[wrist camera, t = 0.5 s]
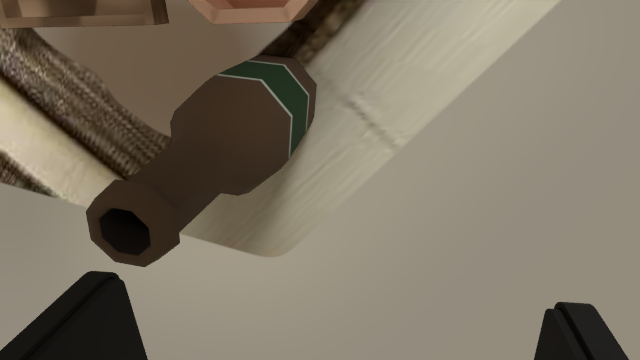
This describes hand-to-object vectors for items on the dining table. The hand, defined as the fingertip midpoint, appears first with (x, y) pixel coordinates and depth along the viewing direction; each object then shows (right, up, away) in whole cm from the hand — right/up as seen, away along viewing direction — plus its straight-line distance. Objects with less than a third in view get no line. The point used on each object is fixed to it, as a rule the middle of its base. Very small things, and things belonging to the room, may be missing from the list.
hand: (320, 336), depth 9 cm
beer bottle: (-4, +11, +28) cm, 31 cm away
